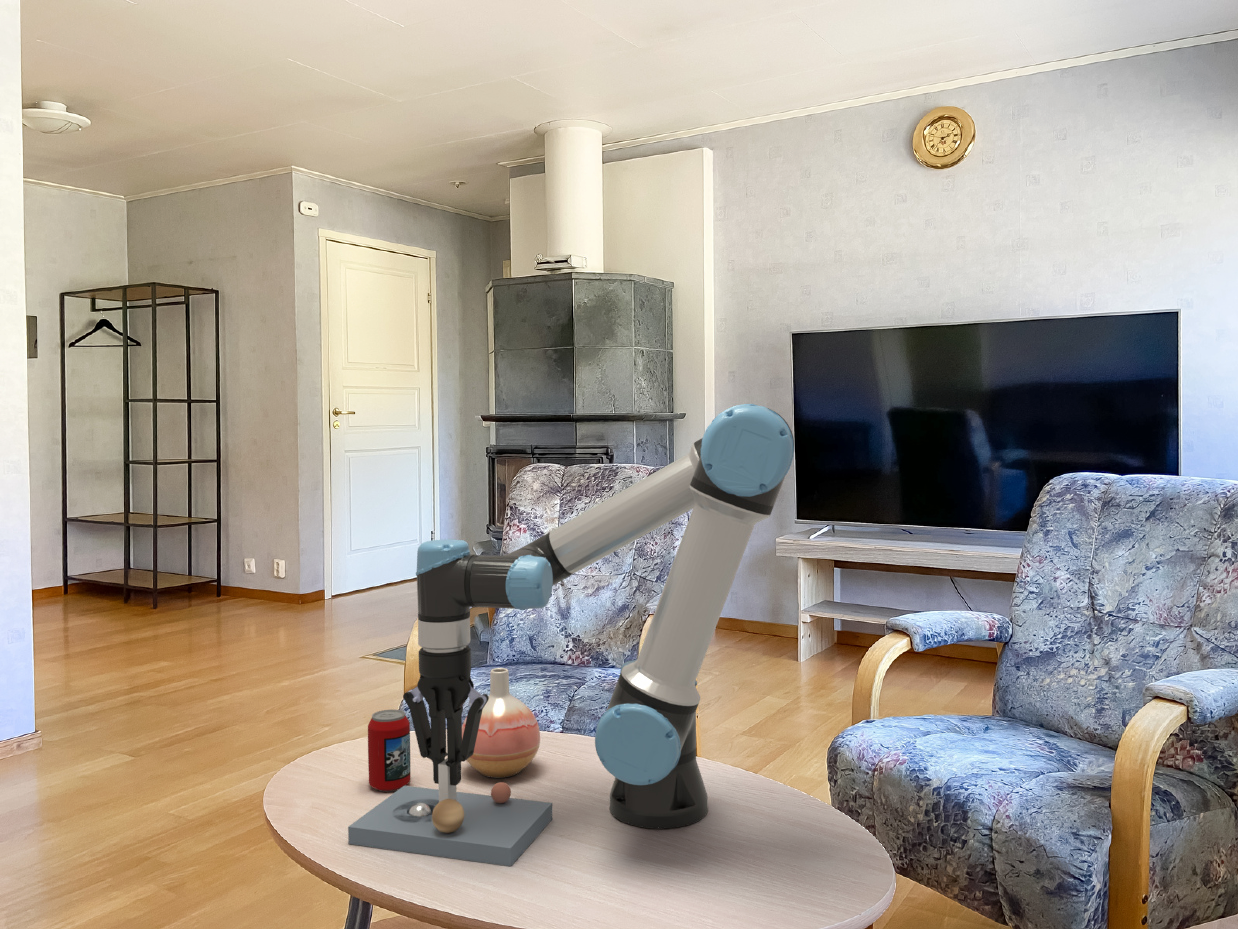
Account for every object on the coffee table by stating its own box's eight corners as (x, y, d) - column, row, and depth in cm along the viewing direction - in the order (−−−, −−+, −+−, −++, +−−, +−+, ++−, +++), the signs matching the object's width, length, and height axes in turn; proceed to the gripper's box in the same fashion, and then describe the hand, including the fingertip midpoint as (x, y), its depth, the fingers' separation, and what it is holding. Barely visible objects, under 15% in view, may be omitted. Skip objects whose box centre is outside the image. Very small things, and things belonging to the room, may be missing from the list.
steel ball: (437, 803, 144) (417, 796, 145) (426, 813, 141) (405, 805, 142) (433, 825, 144) (413, 818, 145) (422, 835, 141) (401, 827, 142)
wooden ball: (469, 827, 137) (469, 795, 137) (455, 840, 133) (455, 808, 133) (441, 823, 138) (440, 792, 138) (426, 836, 134) (425, 804, 134)
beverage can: (400, 795, 155) (399, 721, 155) (361, 792, 156) (360, 719, 156) (417, 780, 162) (416, 709, 161) (379, 777, 163) (378, 707, 162)
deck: (552, 819, 146) (552, 802, 145) (510, 866, 130) (510, 848, 130) (404, 801, 153) (404, 785, 153) (348, 844, 137) (348, 826, 137)
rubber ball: (514, 799, 147) (514, 780, 147) (506, 807, 144) (506, 787, 144) (496, 797, 148) (495, 778, 147) (487, 805, 145) (487, 785, 145)
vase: (498, 752, 175) (497, 656, 174) (556, 768, 167) (555, 667, 166) (443, 775, 164) (441, 672, 163) (503, 793, 156) (501, 685, 155)
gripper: (496, 643, 142) (499, 800, 143) (417, 638, 146) (420, 791, 147) (474, 655, 135) (477, 820, 136) (391, 649, 139) (395, 810, 140)
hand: (447, 805), depth 142 cm, fingers closed
